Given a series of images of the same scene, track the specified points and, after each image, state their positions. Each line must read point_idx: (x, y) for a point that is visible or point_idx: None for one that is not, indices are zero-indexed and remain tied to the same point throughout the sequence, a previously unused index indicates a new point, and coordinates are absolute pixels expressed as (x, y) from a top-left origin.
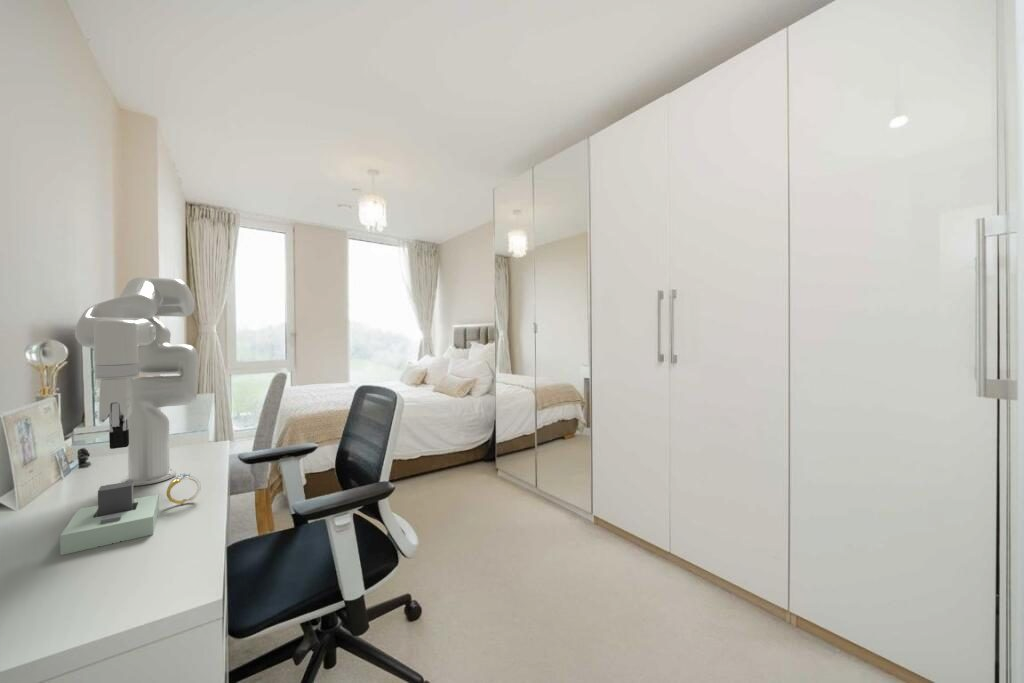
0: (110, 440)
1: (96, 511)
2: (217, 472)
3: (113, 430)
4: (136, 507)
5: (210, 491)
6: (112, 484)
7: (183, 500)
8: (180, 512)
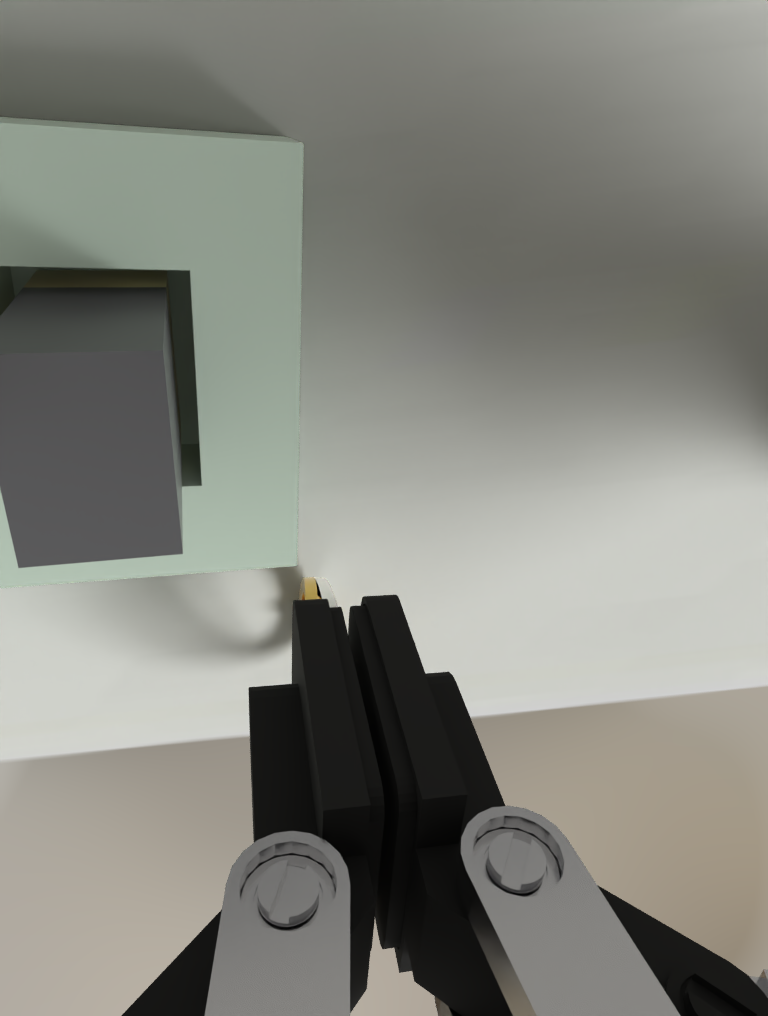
0: (303, 694)
1: (151, 268)
2: (724, 678)
3: (199, 943)
4: None
5: None
6: (161, 429)
7: None
8: (162, 609)
